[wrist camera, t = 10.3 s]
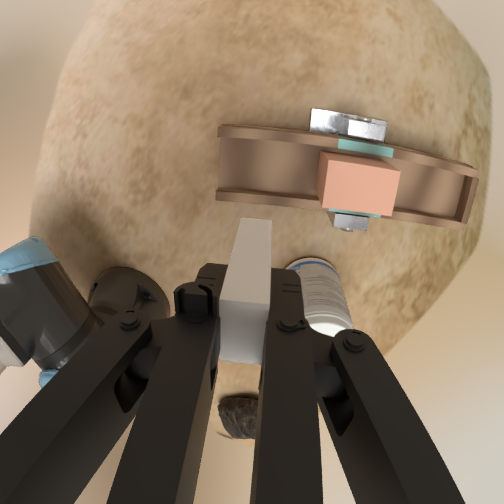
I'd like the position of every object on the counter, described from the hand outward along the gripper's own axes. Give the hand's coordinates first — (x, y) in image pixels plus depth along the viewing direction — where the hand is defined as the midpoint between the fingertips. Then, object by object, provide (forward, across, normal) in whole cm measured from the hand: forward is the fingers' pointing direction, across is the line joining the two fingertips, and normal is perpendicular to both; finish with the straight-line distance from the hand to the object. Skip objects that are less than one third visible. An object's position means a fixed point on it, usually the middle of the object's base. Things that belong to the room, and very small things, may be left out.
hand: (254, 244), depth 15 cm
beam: (+25, +10, 0) cm, 27 cm away
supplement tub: (+27, +8, -19) cm, 34 cm away
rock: (+27, 0, -53) cm, 59 cm away
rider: (+19, +9, 0) cm, 21 cm away
